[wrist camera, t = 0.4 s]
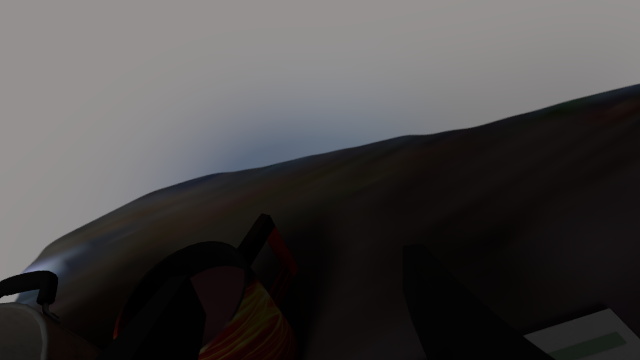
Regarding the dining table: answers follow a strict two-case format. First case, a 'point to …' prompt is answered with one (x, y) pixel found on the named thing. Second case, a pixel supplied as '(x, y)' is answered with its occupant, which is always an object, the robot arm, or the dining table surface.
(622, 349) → the breaker panel
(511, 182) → the dining table surface
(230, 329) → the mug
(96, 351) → the cooking pot
